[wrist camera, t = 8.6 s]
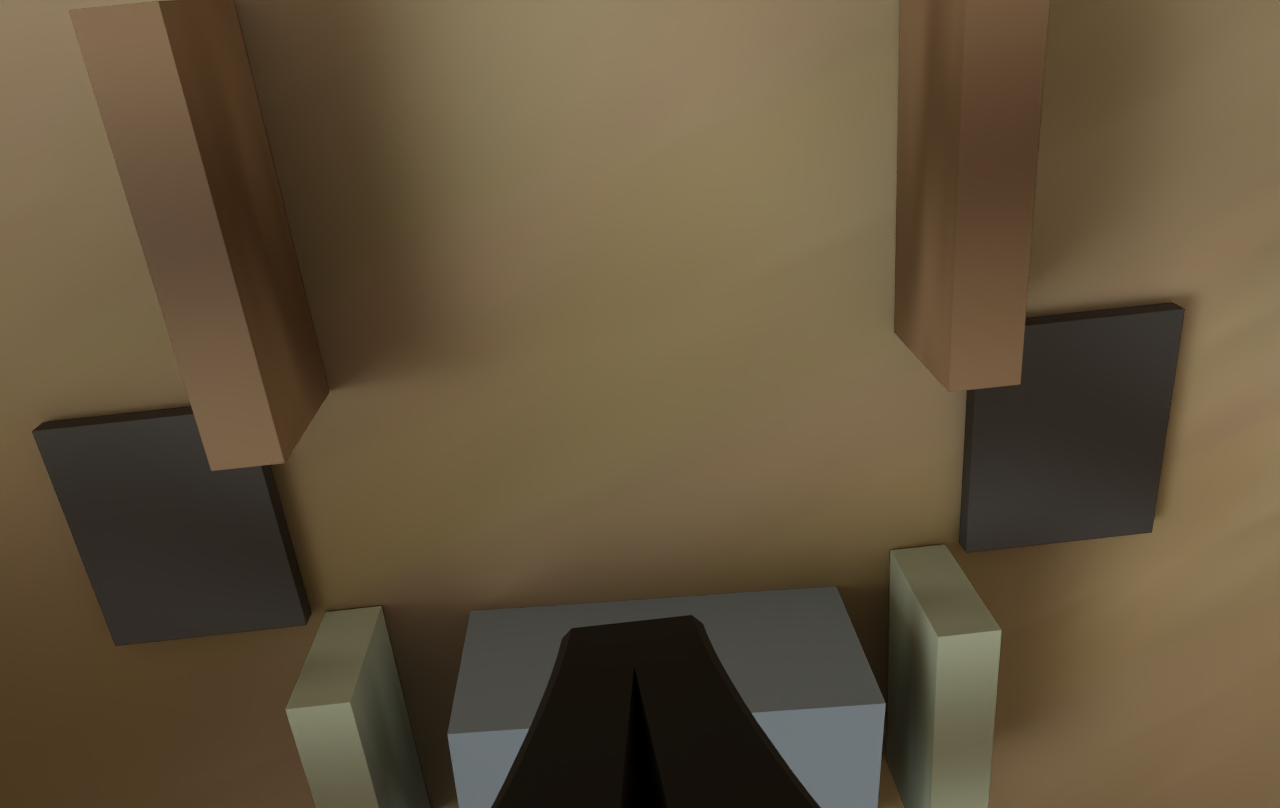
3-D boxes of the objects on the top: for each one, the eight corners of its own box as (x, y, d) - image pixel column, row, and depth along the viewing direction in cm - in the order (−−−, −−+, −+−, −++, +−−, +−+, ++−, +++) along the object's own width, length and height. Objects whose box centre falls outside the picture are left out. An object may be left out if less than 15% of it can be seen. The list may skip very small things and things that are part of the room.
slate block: (822, 813, 24) (865, 963, 20) (503, 837, 24) (488, 993, 20) (833, 579, 21) (885, 703, 17) (471, 603, 21) (447, 733, 17)
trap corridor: (1111, 736, 23) (1183, 837, 20) (201, 838, 23) (149, 955, 20) (1230, -101, 16) (1367, -120, 13) (-107, 32, 15) (-256, 42, 13)
